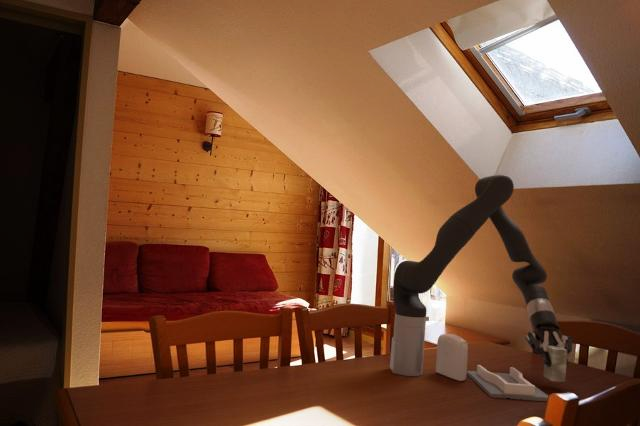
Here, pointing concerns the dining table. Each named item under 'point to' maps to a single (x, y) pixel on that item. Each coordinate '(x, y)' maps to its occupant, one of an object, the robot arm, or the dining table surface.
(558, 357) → the sage hanger block
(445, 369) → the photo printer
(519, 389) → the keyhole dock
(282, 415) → the dining table surface
